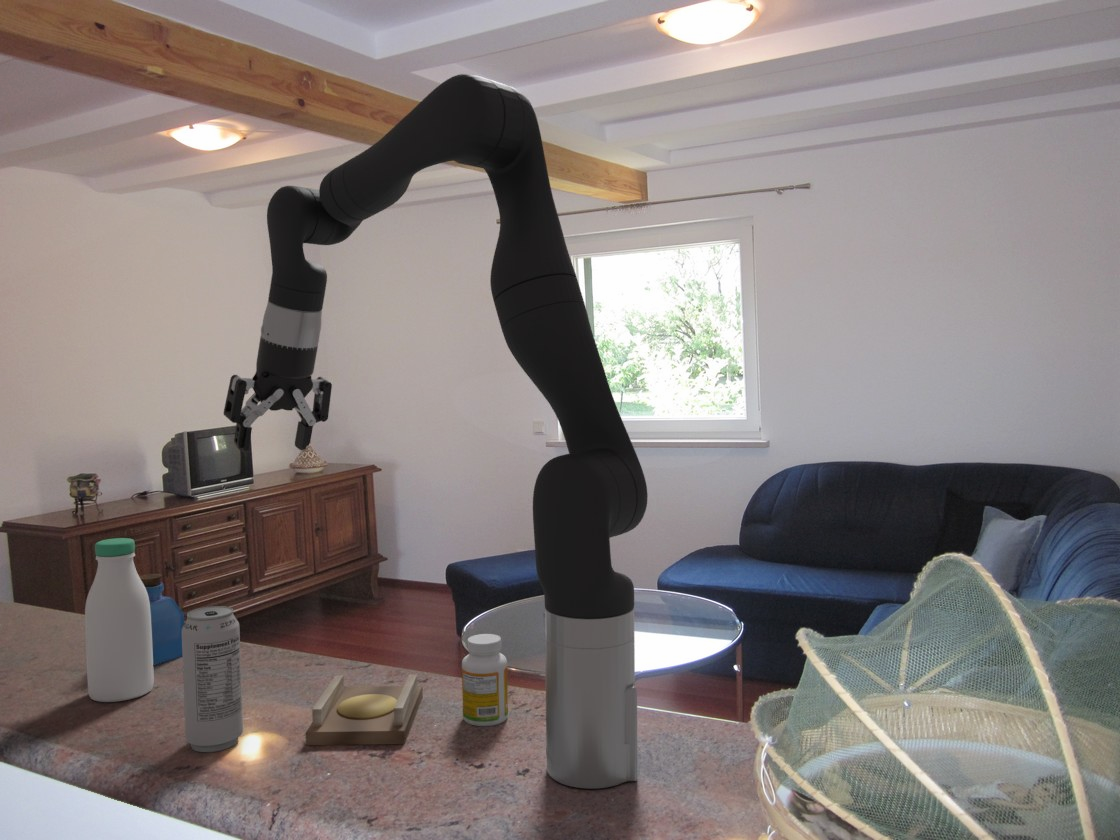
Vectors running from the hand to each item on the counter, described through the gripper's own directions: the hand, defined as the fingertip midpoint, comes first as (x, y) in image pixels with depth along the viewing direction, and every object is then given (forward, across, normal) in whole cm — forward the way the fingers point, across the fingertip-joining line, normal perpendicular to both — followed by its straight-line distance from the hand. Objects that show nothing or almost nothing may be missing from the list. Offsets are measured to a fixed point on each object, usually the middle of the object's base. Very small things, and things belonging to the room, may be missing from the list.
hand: (271, 449), depth 127 cm
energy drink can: (+24, -16, -29) cm, 41 cm away
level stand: (+21, -1, -35) cm, 41 cm away
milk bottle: (+31, -19, -6) cm, 37 cm away
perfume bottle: (+34, -10, +5) cm, 36 cm away
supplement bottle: (+18, +10, -44) cm, 48 cm away
